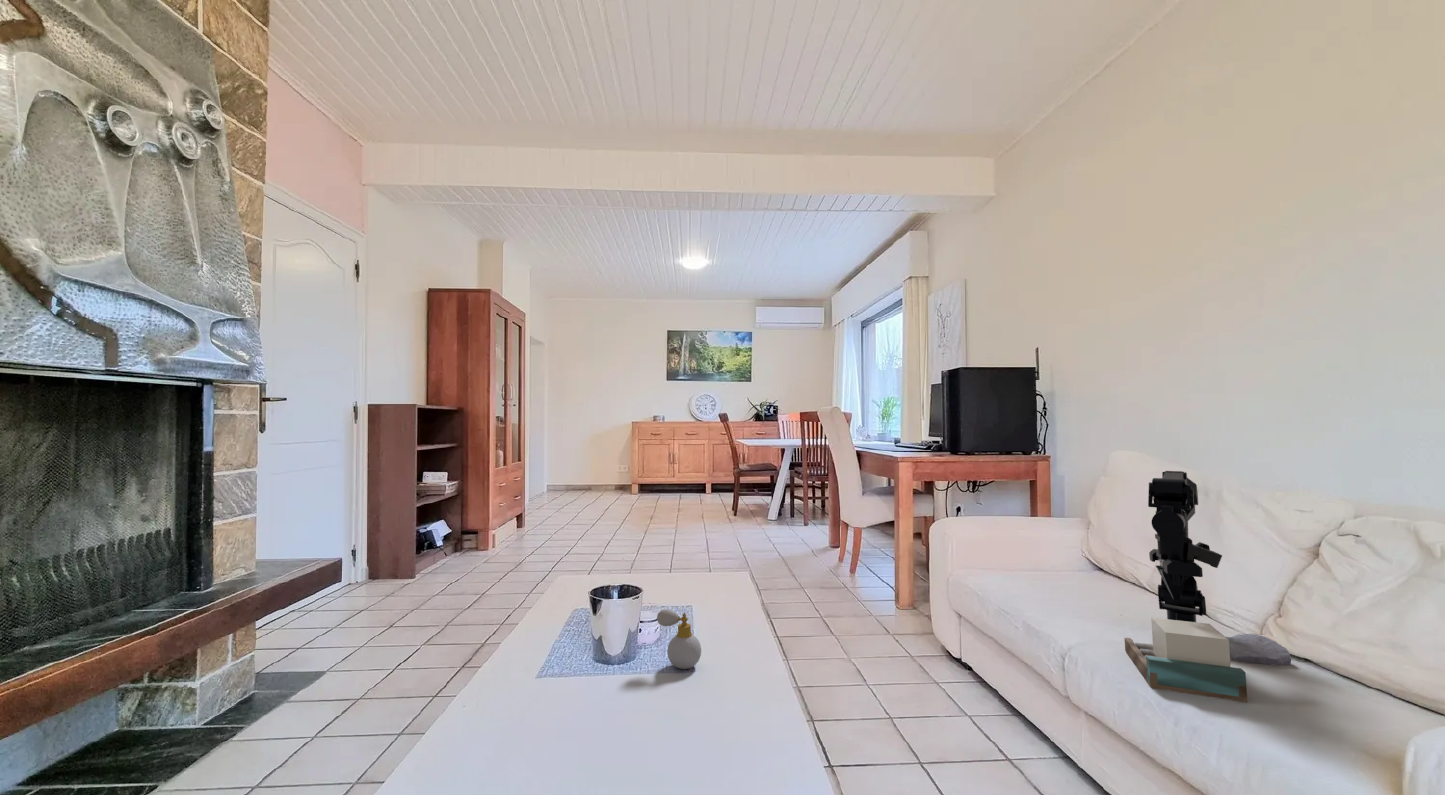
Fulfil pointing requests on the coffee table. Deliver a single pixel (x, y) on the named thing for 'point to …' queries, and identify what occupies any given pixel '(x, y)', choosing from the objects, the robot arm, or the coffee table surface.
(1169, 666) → the roller bed
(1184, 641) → the limestone slab
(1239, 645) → the stone block
